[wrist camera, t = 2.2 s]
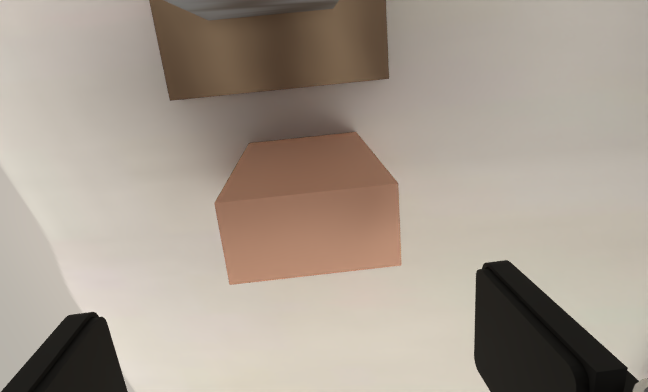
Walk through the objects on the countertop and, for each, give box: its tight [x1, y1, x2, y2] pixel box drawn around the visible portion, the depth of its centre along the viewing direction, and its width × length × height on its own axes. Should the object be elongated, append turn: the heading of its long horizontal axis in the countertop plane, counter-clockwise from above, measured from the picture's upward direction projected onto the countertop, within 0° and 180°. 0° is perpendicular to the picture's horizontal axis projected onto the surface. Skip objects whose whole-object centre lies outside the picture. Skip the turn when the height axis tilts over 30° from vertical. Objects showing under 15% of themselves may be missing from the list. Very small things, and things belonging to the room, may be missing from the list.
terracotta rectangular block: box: [215, 132, 401, 285], centre depth 22 cm, size 7×4×12 cm, turn 95°
